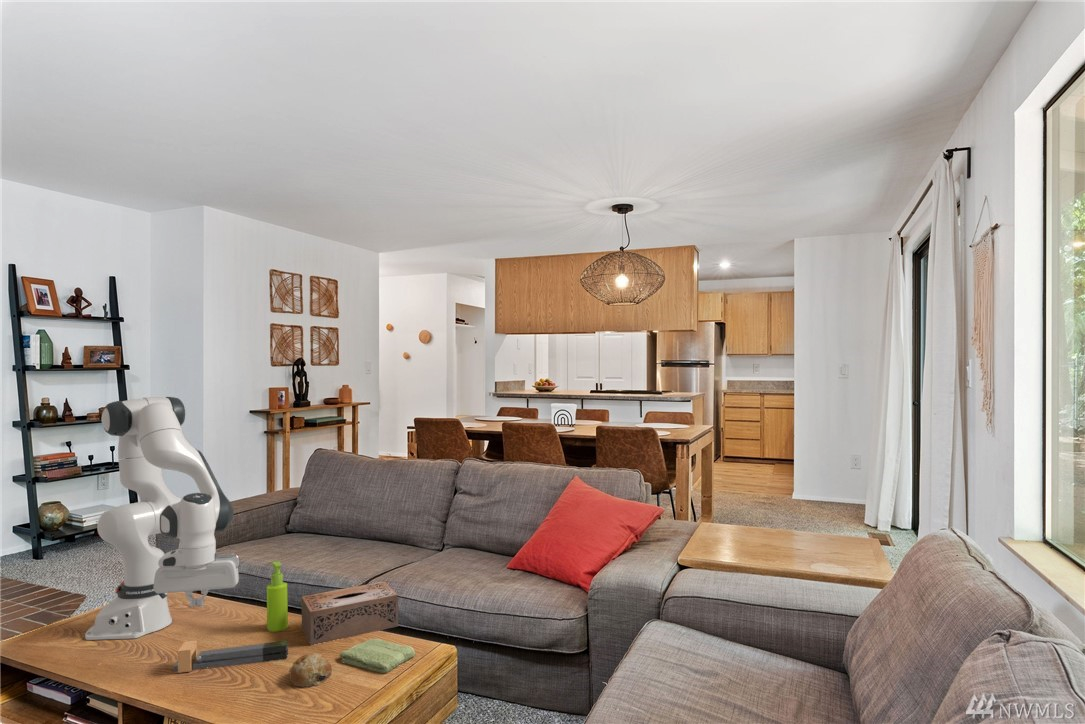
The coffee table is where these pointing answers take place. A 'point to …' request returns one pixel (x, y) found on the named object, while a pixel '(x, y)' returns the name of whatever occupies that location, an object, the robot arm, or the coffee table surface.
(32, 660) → the coffee table surface
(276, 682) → the coffee table surface
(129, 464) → the robot arm
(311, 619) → the tissue box cover
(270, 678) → the coffee table surface
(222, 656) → the tongs upper arm
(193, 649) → the tan hook block
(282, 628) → the soap dispenser
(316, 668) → the bread roll
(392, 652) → the washcloth
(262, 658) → the tongs lower arm
